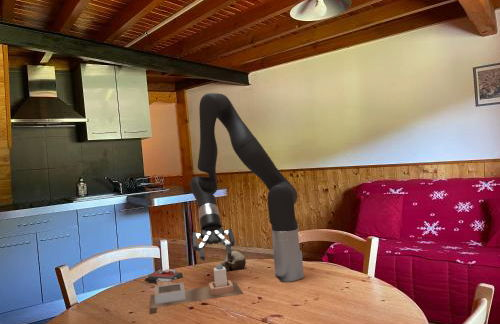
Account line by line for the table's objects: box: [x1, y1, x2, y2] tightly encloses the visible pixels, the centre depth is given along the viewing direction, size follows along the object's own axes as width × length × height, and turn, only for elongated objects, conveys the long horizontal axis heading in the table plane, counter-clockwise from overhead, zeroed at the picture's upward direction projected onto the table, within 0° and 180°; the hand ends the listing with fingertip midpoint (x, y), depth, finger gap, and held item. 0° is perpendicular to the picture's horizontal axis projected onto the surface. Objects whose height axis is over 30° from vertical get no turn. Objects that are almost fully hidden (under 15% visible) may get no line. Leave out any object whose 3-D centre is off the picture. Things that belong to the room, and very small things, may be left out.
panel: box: [149, 281, 244, 314], centre depth 119 cm, size 28×12×2 cm, turn 103°
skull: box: [220, 250, 249, 273], centre depth 148 cm, size 12×10×10 cm
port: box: [154, 282, 186, 306], centre depth 117 cm, size 9×9×3 cm
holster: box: [208, 279, 234, 295], centre depth 121 cm, size 7×7×2 cm
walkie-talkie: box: [144, 268, 184, 284], centre depth 139 cm, size 9×4×20 cm
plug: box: [213, 264, 228, 288], centre depth 121 cm, size 4×4×8 cm
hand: (216, 257), depth 126 cm, fingers open, 8 cm apart
